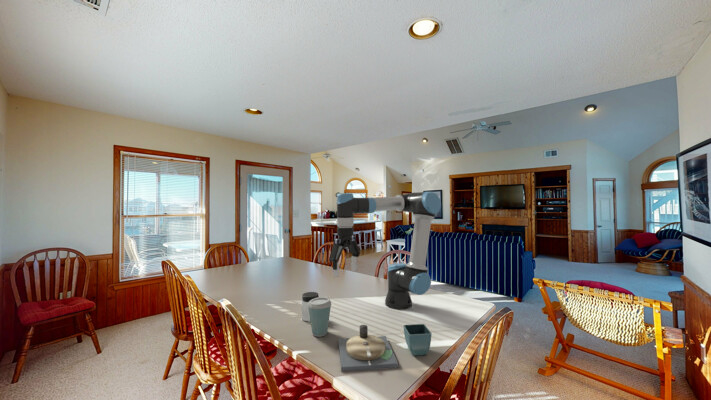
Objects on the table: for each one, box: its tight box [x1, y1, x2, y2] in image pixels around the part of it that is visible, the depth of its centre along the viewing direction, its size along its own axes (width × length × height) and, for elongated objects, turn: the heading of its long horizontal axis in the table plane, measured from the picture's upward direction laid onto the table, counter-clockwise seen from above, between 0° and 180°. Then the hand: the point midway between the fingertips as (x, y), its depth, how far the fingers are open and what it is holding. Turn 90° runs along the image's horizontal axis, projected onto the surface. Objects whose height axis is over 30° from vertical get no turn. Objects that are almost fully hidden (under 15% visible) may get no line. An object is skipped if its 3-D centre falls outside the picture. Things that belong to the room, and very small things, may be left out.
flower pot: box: [403, 323, 433, 356], centre depth 107 cm, size 9×9×9 cm
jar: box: [301, 291, 320, 323], centre depth 139 cm, size 9×8×12 cm
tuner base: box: [338, 335, 399, 372], centre depth 105 cm, size 20×20×2 cm
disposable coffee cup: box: [308, 296, 332, 338], centre depth 122 cm, size 11×11×15 cm
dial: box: [346, 324, 385, 360], centre depth 105 cm, size 17×15×6 cm
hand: (345, 273), depth 125 cm, fingers open, 13 cm apart
